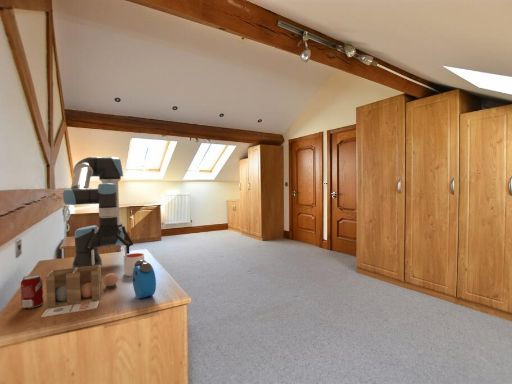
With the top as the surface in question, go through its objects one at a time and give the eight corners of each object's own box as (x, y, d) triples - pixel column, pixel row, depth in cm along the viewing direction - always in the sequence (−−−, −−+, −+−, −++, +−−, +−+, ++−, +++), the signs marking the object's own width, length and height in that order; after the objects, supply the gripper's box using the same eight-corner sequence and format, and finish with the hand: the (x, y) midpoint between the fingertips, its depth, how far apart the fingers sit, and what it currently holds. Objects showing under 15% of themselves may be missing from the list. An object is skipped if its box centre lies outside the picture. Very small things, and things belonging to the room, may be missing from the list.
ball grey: (57, 299, 118) (56, 285, 118) (74, 297, 121) (73, 282, 121) (53, 305, 113) (52, 290, 113) (71, 302, 115) (70, 287, 115)
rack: (53, 300, 119) (52, 270, 119) (101, 293, 126) (100, 264, 126) (47, 308, 111) (45, 276, 110) (99, 300, 118) (98, 270, 117)
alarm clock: (156, 299, 118) (155, 263, 117) (141, 303, 114) (140, 266, 114) (146, 290, 128) (145, 257, 128) (132, 294, 124) (131, 259, 124)
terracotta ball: (81, 295, 122) (80, 282, 122) (97, 293, 124) (96, 279, 124) (78, 301, 116) (78, 286, 116) (95, 298, 119) (94, 284, 118)
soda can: (31, 310, 110) (30, 279, 109) (17, 309, 111) (15, 278, 111) (47, 303, 116) (46, 274, 116) (34, 302, 118) (32, 273, 117)
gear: (106, 286, 134) (106, 284, 134) (116, 285, 136) (116, 283, 136) (105, 289, 130) (105, 287, 130) (115, 288, 132) (115, 286, 132)
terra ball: (104, 285, 135) (103, 272, 135) (118, 283, 137) (118, 270, 137) (102, 289, 129) (102, 276, 129) (117, 287, 132) (117, 274, 131)
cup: (131, 278, 146) (131, 258, 146) (120, 275, 151) (119, 256, 151) (148, 272, 154) (147, 254, 154) (136, 270, 160) (136, 252, 159)
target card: (46, 309, 110) (46, 308, 110) (99, 301, 117) (99, 300, 117) (40, 317, 104) (40, 315, 104) (96, 308, 110) (96, 306, 110)
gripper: (75, 219, 124) (77, 268, 124) (137, 215, 134) (139, 261, 134) (78, 218, 131) (80, 264, 131) (137, 214, 141) (139, 257, 141)
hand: (110, 262), depth 133 cm, fingers open, 13 cm apart
